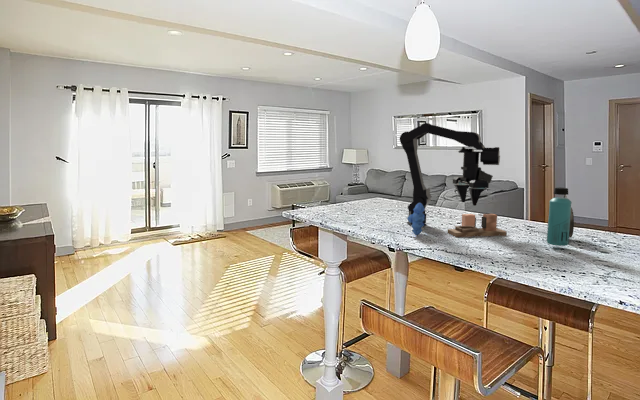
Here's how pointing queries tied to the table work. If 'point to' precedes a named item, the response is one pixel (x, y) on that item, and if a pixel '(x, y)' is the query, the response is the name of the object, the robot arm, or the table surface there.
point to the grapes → (417, 219)
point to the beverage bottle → (559, 219)
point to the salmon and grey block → (468, 220)
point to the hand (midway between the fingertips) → (468, 203)
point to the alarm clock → (571, 221)
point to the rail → (487, 228)
